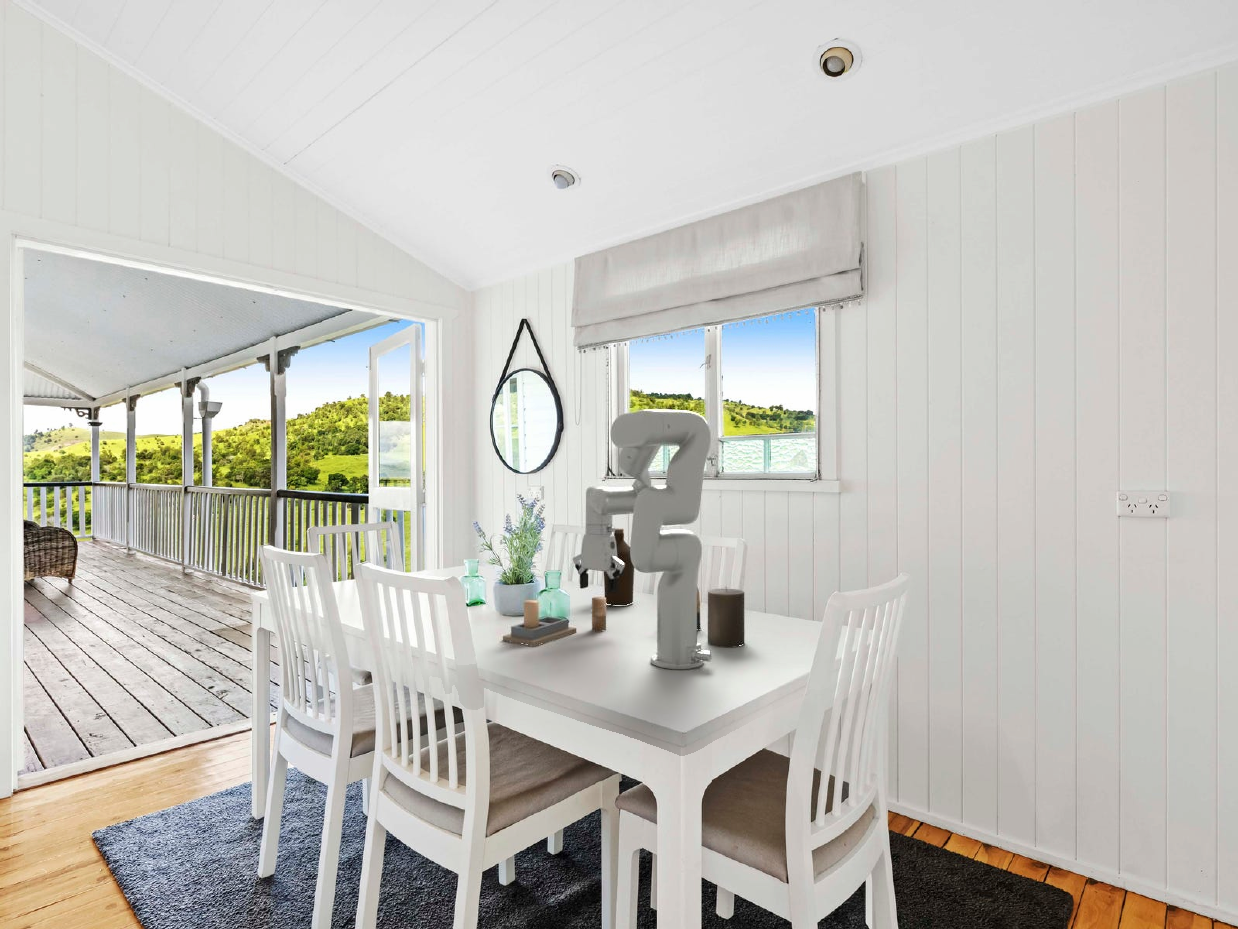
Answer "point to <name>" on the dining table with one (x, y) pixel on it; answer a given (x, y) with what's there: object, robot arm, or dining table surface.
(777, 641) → the dining table surface
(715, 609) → the pillar candle
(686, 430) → the robot arm
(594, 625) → the switch lever
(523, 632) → the housing
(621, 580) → the olive oil
